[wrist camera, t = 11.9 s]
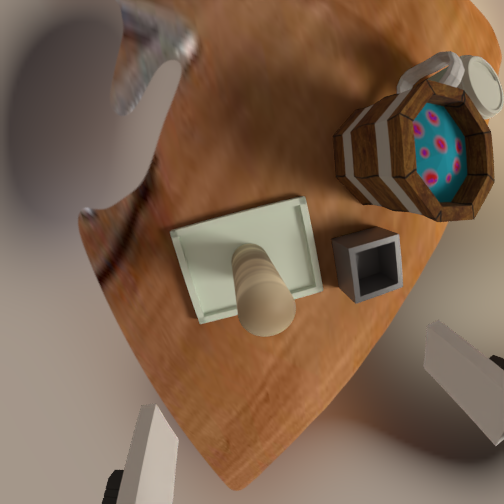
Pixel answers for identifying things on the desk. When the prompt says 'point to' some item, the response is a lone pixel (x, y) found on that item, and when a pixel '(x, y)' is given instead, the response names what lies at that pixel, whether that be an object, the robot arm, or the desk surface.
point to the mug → (419, 147)
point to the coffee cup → (479, 85)
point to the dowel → (260, 292)
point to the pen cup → (368, 263)
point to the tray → (235, 235)
